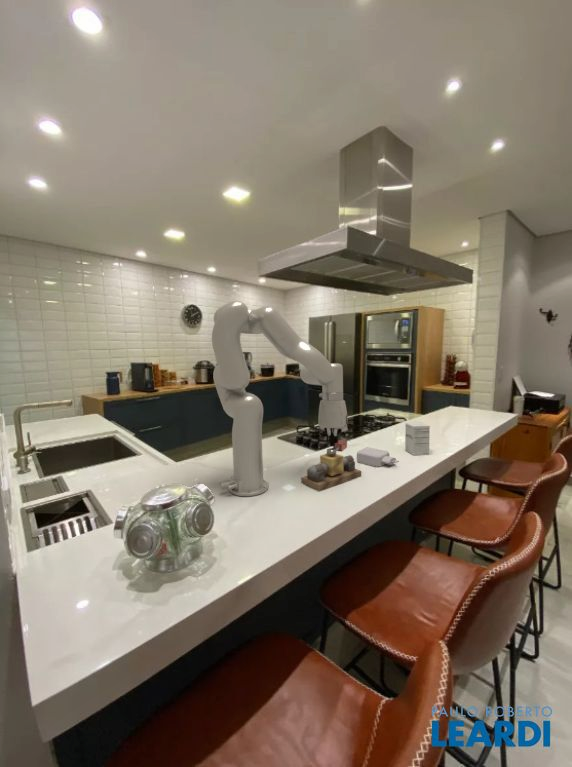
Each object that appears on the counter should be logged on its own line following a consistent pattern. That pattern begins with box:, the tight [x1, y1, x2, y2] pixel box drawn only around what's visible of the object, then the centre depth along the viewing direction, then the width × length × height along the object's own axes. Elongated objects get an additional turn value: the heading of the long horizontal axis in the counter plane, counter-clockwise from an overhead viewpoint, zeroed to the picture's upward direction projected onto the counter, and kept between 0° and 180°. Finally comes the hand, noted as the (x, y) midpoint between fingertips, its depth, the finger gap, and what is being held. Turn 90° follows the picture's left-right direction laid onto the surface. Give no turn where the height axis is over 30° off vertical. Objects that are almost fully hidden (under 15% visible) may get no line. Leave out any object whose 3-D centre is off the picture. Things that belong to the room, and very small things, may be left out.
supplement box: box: [404, 421, 431, 457], centre depth 140 cm, size 7×7×13 cm
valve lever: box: [326, 439, 348, 454], centre depth 116 cm, size 14×3×3 cm, turn 150°
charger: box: [356, 446, 400, 468], centre depth 128 cm, size 5×9×15 cm
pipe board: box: [300, 453, 362, 492], centre depth 112 cm, size 20×9×9 cm, turn 127°
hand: (333, 445), depth 122 cm, fingers closed
